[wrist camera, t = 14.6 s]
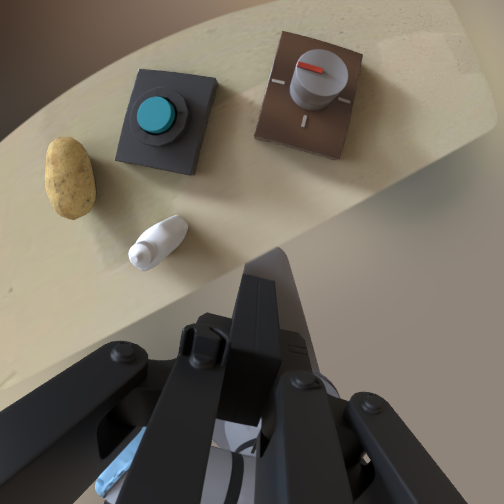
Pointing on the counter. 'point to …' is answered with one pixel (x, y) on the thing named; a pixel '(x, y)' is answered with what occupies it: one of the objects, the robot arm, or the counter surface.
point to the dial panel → (301, 120)
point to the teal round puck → (156, 115)
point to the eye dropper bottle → (158, 242)
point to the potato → (69, 178)
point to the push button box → (181, 131)
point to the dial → (318, 79)
